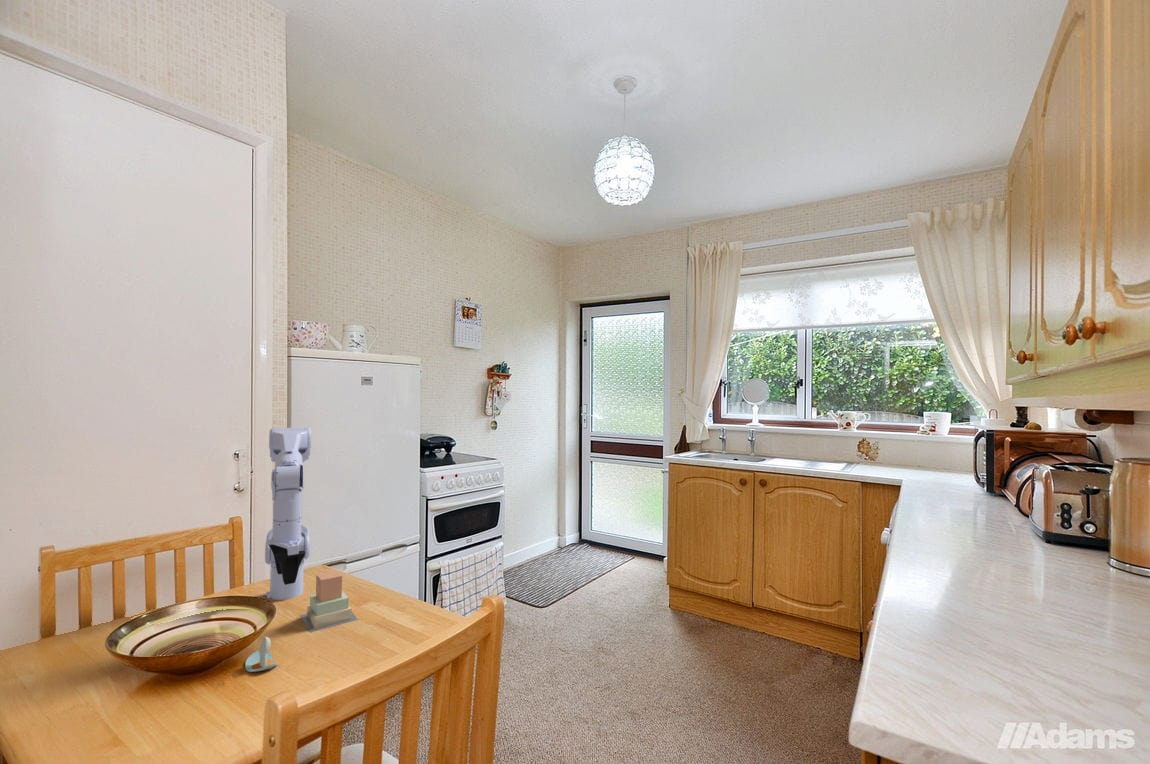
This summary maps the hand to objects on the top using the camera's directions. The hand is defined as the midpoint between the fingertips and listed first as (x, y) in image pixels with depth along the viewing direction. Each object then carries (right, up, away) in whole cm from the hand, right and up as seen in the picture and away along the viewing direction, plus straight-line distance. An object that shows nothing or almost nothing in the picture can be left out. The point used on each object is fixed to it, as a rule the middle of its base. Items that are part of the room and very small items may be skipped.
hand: (286, 578), depth 117 cm
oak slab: (+9, -10, +1) cm, 13 cm away
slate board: (+9, -11, +1) cm, 14 cm away
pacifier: (+5, -11, -19) cm, 22 cm away
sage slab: (+9, -7, +1) cm, 12 cm away
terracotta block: (+9, -5, +1) cm, 10 cm away
